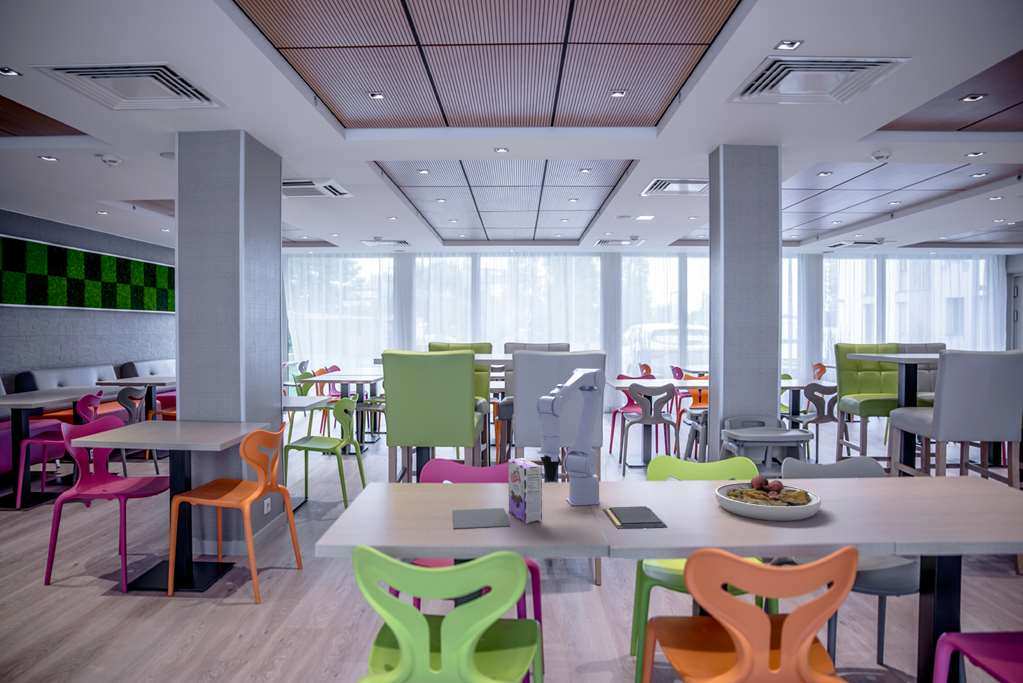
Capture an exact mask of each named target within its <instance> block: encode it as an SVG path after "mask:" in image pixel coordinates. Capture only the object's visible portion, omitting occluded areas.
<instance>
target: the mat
mask: <svg viewBox="0 0 1023 683" xmlns="http://www.w3.org/2000/svg"><path fill="white" fill-rule="evenodd" d="M452 518H453V519H452V520H453V530H461V529H462V530H463V529H466V530H467V529H482V528H484V529H485V528H488V529H489V528H508V527H511V524H510V521H509V519H508V515H507V512H506V510H505V508H504V507H499V508H498V507H496V508H473V509H454V510H452Z"/></svg>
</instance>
